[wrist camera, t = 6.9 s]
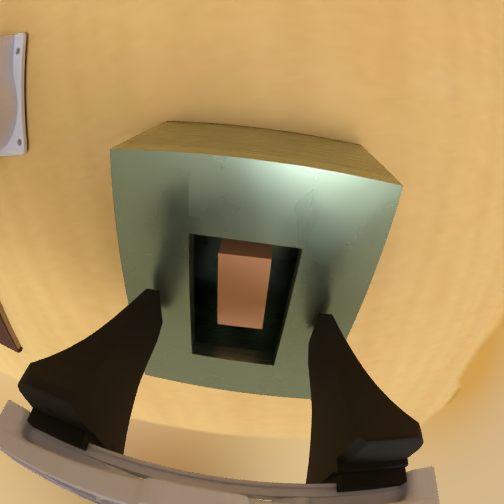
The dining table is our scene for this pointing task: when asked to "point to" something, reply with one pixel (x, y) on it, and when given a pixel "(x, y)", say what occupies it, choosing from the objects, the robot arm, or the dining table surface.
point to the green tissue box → (253, 230)
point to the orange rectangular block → (243, 282)
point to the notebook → (8, 333)
